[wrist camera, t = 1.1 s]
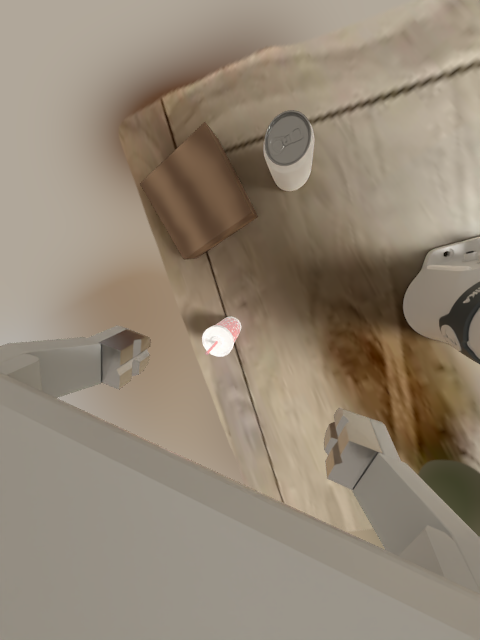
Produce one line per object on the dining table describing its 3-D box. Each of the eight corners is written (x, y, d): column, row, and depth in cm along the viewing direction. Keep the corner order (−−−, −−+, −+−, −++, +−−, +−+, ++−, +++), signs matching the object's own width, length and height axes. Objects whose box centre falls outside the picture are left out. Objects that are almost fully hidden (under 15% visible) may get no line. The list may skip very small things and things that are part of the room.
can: (267, 161, 39) (253, 126, 28) (304, 139, 36) (305, 92, 25) (280, 198, 40) (271, 179, 29) (316, 180, 38) (322, 151, 27)
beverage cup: (230, 343, 51) (206, 376, 38) (213, 323, 51) (182, 349, 38) (250, 329, 49) (231, 358, 36) (232, 307, 48) (206, 329, 36)
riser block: (218, 139, 40) (204, 121, 34) (258, 217, 42) (251, 212, 36) (159, 191, 45) (139, 183, 40) (197, 258, 47) (183, 259, 42)
